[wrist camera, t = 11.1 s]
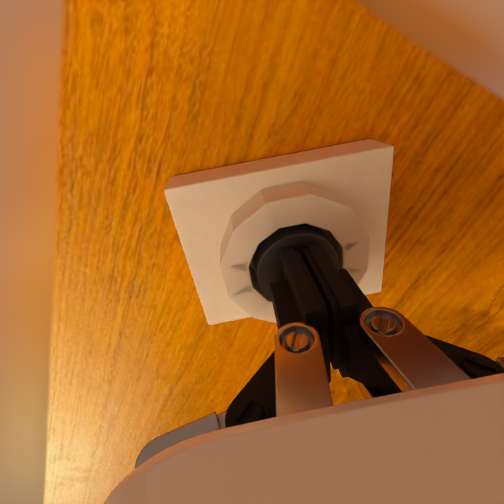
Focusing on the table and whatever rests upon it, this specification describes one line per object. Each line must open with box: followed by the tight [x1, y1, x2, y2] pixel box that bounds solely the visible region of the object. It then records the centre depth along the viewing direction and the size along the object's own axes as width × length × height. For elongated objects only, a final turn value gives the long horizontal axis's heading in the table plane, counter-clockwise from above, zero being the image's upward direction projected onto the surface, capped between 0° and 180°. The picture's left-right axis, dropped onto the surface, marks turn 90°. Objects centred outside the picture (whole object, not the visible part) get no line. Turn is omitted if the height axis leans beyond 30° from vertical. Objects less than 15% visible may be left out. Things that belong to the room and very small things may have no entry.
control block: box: [164, 139, 394, 325], centre depth 14 cm, size 10×8×4 cm
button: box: [253, 223, 339, 299], centre depth 13 cm, size 4×4×2 cm
